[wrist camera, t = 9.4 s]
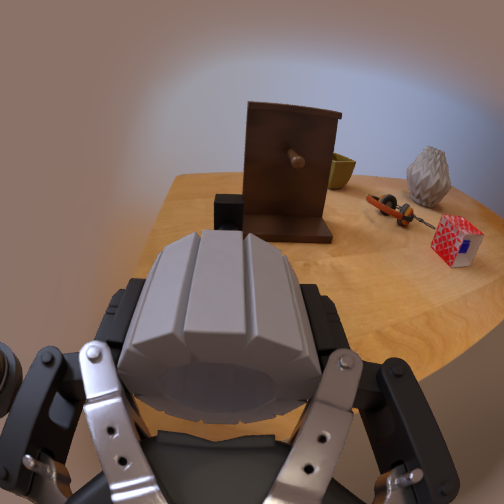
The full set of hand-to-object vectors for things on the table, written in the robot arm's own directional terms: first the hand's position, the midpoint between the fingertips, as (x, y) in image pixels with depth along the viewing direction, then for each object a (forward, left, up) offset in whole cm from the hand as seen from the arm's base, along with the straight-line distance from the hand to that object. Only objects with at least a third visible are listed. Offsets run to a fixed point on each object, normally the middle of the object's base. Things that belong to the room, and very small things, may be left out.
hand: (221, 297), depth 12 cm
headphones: (+40, +44, -16) cm, 62 cm away
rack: (+10, +36, -16) cm, 41 cm away
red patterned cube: (+47, +28, -16) cm, 57 cm away
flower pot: (+28, +63, -16) cm, 71 cm away
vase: (+60, +59, -16) cm, 86 cm away
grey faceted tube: (0, -2, 0) cm, 2 cm away
